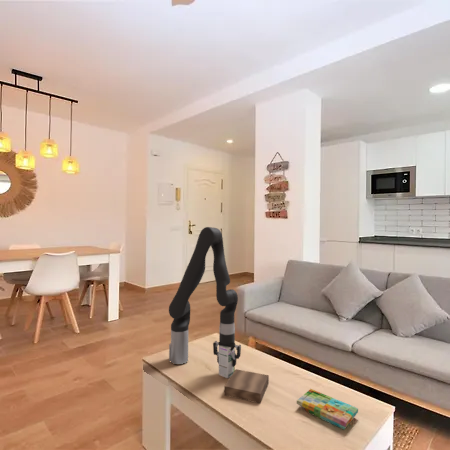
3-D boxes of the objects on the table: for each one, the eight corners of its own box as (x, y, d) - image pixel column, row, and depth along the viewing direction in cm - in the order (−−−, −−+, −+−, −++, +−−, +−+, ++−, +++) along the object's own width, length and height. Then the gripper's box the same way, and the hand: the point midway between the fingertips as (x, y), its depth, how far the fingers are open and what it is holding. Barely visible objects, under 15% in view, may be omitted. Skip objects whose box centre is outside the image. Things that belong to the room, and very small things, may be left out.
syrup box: (227, 378, 147) (228, 348, 146) (218, 374, 150) (218, 345, 150) (234, 374, 151) (235, 344, 151) (225, 370, 155) (225, 341, 155)
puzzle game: (346, 421, 111) (296, 398, 124) (345, 433, 111) (296, 409, 124) (358, 406, 119) (310, 386, 133) (358, 418, 119) (310, 397, 133)
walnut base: (224, 395, 133) (224, 386, 133) (235, 377, 148) (235, 369, 148) (260, 403, 128) (260, 393, 128) (268, 383, 143) (268, 375, 143)
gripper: (210, 331, 149) (210, 365, 150) (238, 335, 144) (238, 371, 145) (216, 326, 156) (215, 359, 157) (243, 330, 151) (243, 363, 152)
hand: (226, 364), depth 151 cm, fingers closed on syrup box, 6 cm apart
